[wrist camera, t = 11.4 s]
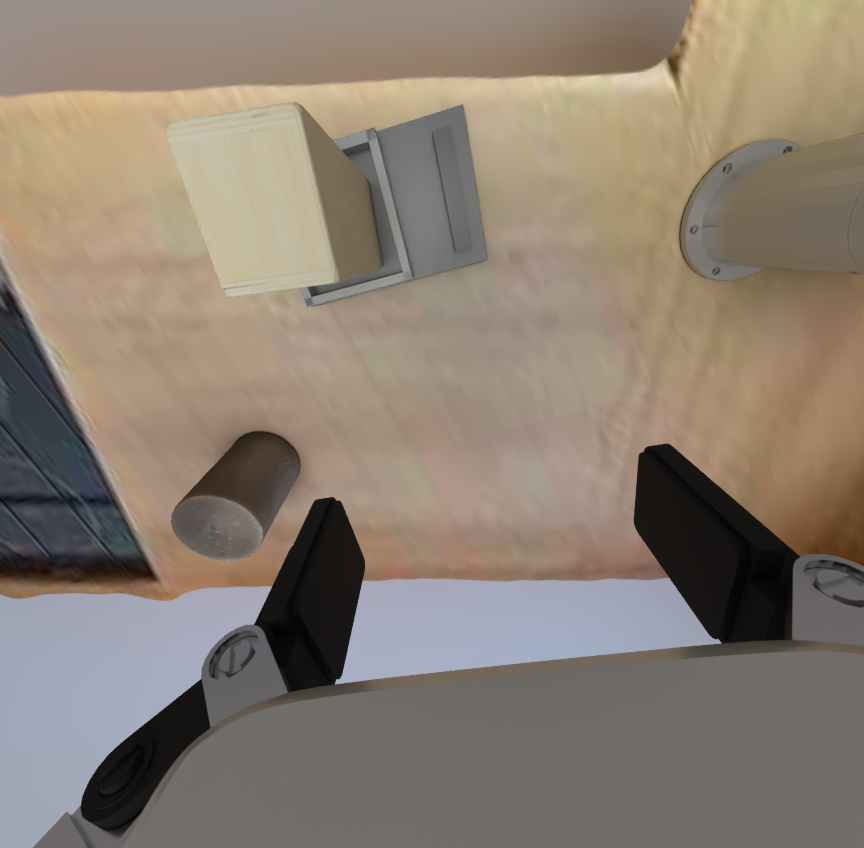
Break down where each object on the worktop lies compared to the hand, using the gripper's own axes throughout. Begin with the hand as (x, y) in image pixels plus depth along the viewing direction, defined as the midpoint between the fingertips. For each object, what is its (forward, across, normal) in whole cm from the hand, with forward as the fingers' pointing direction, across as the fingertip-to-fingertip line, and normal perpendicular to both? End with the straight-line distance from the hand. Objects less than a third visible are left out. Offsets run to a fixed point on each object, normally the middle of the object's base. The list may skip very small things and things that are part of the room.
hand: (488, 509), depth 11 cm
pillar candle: (+34, +29, +15) cm, 47 cm away
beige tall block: (+33, +9, -11) cm, 36 cm away
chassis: (+34, +5, -11) cm, 36 cm away
